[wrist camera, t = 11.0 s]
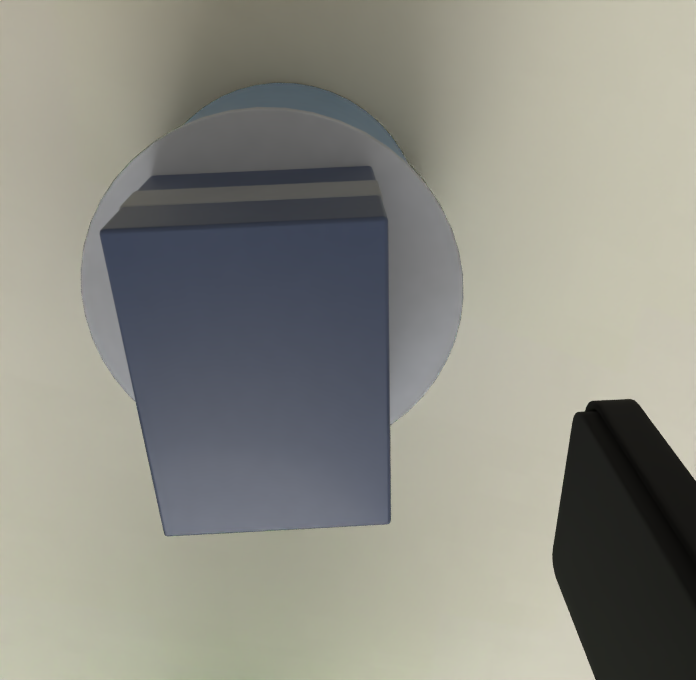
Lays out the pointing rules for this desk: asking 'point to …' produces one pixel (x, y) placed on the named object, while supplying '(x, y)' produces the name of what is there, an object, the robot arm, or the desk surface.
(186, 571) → the desk surface
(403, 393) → the yogurt
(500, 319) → the desk surface
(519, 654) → the desk surface
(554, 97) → the desk surface
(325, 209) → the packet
